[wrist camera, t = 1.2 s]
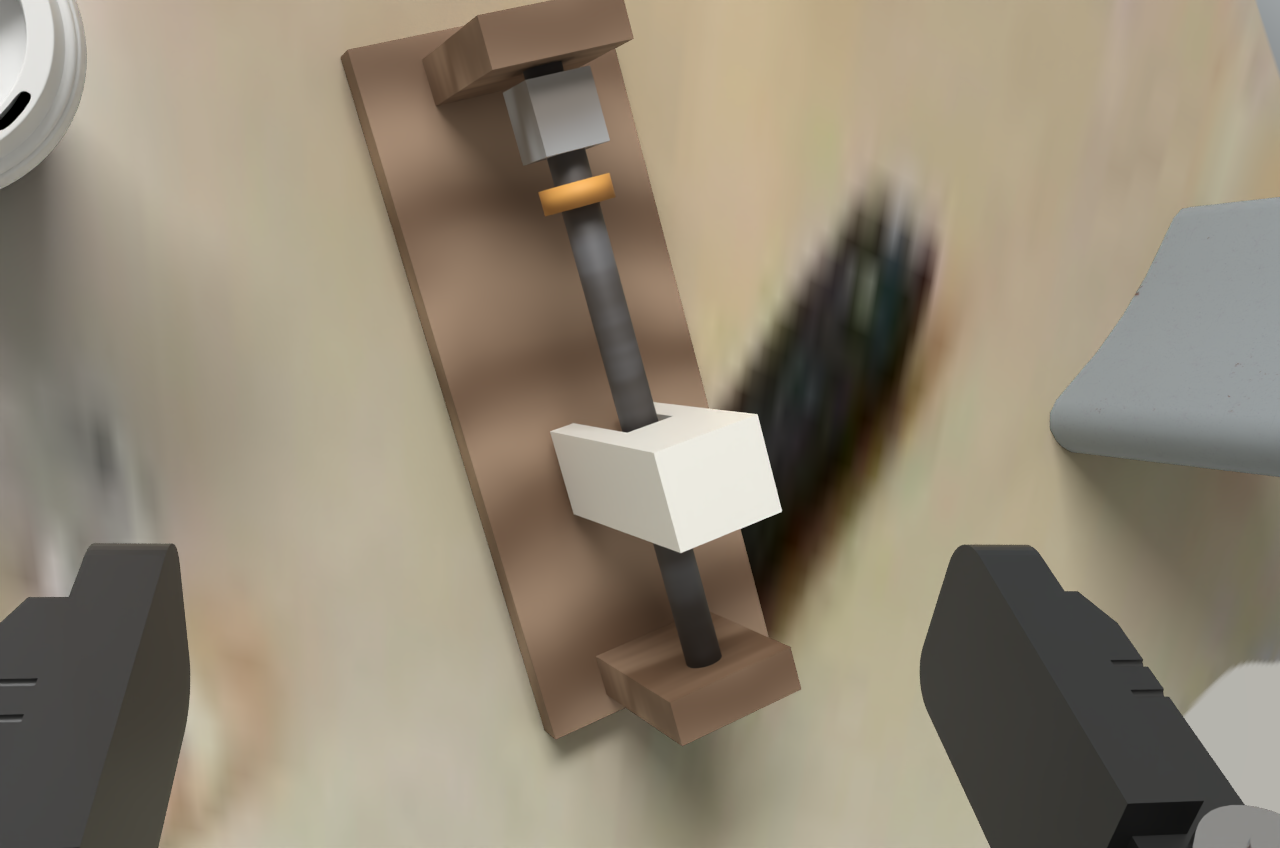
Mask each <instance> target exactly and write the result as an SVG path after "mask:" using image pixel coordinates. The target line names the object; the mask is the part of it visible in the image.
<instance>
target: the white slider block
mask: <svg viewBox="0 0 1280 848" xmlns="http://www.w3.org/2000/svg"><path fill="white" fill-rule="evenodd" d="M654 406H655V410H656V414H657V417H658V422H656V423H653V424H650V425H647V426H644V427H642V428H639V429H636V430H633V431H631V432H628V433H626V432H620V431H615V430H609V429H604V428H598V427H592V426H587V425H581V424H576V423H572V424H570V425H567V426H564V427H561V428H558V429H555V430H552V431H550V434H551V437H552V441H553V444H554V448H555V451H556V454H557V458H558V461H559V465H560V468H561V472H562V475H563V479H564V482H565V486H566V489H567V493H568V496H569V500H570V503H571V507H572V510H573V514H575V515H578V516H580V517H583V518H586V519H589V520H591V521H594V522H597V523H600V524H602V525H605V526H608V527H611V528H613V529H616V530H619V531H622V532H624V533H627V534H630V535H632V536H635V537H638V538H641V539H643V540H646V541H649V542H652V543H654V544H657V545H660V546H663V547H665V548H668V549H671V550H674V551H676V552H679V553H682V552H685V551H687V550H690V549H692V548H694V547H697V546H699V545H702V544H704V543H707V542H709V541H712V540H714V539H716V538H719V537H721V536H724V535H726V534H729V533H731V532H734V531H736V530H738V529H741V528H743V527H746V526H748V525H751V524H753V523H755V522H758V521H760V520H763V519H765V518H768V517H770V516H773V515H775V514H777V513H780V512H782V509H781V506H780V502H779V498H778V494H777V490H776V486H775V482H774V478H773V474H772V470H771V466H770V462H769V458H768V454H767V450H766V446H765V442H764V438H763V434H762V430H761V427H760V423H759V419H758V415H757V414H750V413H741V412H733V411H725V410H716V409H708V408H699V407H691V406H682V405H674V404H666V403H657V402H654Z"/></svg>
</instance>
